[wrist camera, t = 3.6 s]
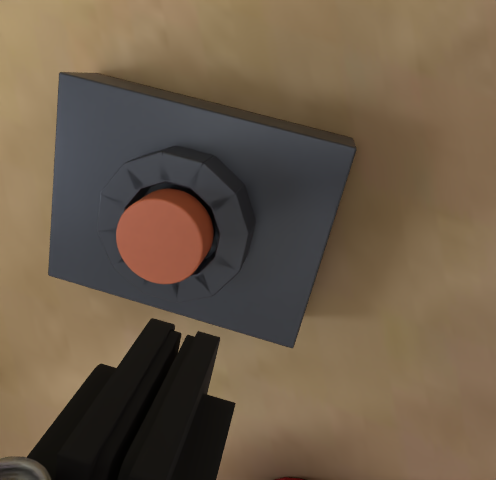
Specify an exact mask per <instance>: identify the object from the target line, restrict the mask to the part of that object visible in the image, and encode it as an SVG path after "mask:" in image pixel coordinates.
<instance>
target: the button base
mask: <svg viewBox="0 0 496 480" xmlns="http://www.w3.org/2000/svg"><path fill="white" fill-rule="evenodd" d="M355 153H356V146H355V143H354V140H353V138H351V137H347V136H343V135H339V134H335V133H331V132H327V131H323V130H319V129H315V128H311V127H307V126H303V125H299V124H295V123H291V122H287V121H284V120H280V119H276V118H272V117H268V116H264V115H260V114H256V113H252V112H248V111H244V110H240V109H236V108H232V107H228V106H224V105H220V104H216V103H212V102H209V101H205V100H201V99H197V98H193V97H189V96H185V95H181V94H177V93H173V92H169V91H165V90H161V89H157V88H153V87H149V86H145V85H141V84H137V83H134V82H130V81H126V80H122V79H118V78H114V77H110V76H106V75H102V74H98V73H71V72H60V73H59V87H58V105H57V124H56V142H55V160H54V179H53V197H52V215H51V234H50V252H49V270H48V275H49V276H52V277H56V278H59V279H62V280H66V281H69V282H72V283H76V284H79V285H82V286H86V287H89V288H92V289H96V290H99V291H103V292H106V293H109V294H113V295H116V296H119V297H123V298H126V299H129V300H133V301H136V302H139V303H143V304H146V305H149V306H153V307H156V308H159V309H163V310H166V311H169V312H173V313H176V314H179V315H183V316H186V317H189V318H193V319H196V320H199V321H203V322H206V323H209V324H213V325H216V326H219V327H223V328H226V329H229V330H233V331H236V332H239V333H243V334H246V335H249V336H253V337H256V338H259V339H263V340H266V341H269V342H273V343H276V344H280V345H283V346H286V347H290V348H293V347H294V345H295V341H296V338H297V335H298V332H299V329H300V326H301V323H302V319H303V316H304V313H305V310H306V307H307V304H308V301H309V297H310V294H311V291H312V288H313V285H314V282H315V279H316V275H317V272H318V269H319V266H320V263H321V260H322V257H323V253H324V250H325V247H326V244H327V241H328V238H329V235H330V231H331V228H332V225H333V222H334V219H335V216H336V213H337V209H338V206H339V203H340V200H341V197H342V194H343V191H344V187H345V184H346V181H347V178H348V175H349V172H350V169H351V165H352V162H353V159H354V156H355ZM167 188H169V189H177V190H181V191H184V192H186V193H188V194H190V195H192V196H193V197H195V198H196V199H197V200H198V201H200V203H201V204H202V205H203V206H204V207H205V209H206V210H207V212H208V213H209V215H210V218H211V220H212V224H213V230H214V237H213V243H212V246H211V248H210V251H209V252H208V254H207V255H206V257H205V258H204V260H203V261H202V262H201V264H200V265H199V267H198V268H197V269H196V271H195V272H194V273H193V274H192V275H191V276H189V277H188V278H186V279H185V280H183V281H180V282H177V283H173V284H158V283H153V282H150V281H147V280H145V279H143V278H141V277H140V276H138V275H137V274H136V273H134V272H133V271H132V270H131V269H130V268H129V267H128V266H127V264H126V263H125V262H124V260H123V259H122V257H121V255H120V253H119V250H118V247H117V242H116V230H117V225H118V222H119V219H120V217H121V215H122V214H123V213H124V211H125V210H126V209H127V208H128V207H129V206H131V205H132V204H133V203H135V202H136V201H138V200H140V199H141V198H143V197H145V196H146V195H148V194H149V193H151V192H153V191H156V190H160V189H167Z"/></svg>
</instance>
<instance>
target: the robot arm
mask: <svg viewBox="0 0 496 480" xmlns="http://www.w3.org/2000/svg"><path fill="white" fill-rule="evenodd" d="M174 329H175V325H174V324H171V323H167V322H164V321H160V320H157V319H153V318H152V319H151V320H150V321H149V322H148V324H147V325H146V326H145V328H144V329H143V331H142V332H141V334H140V335H139V337H138V338H137V339H136V341H135V342H134V344H133V345H132V347H131V348H130V350H129V351H128V353H127V354H126V355H125V357H124V358H123V360H122V361H121V363H120V364H119V366H118V367H117V368H114V367H111V366H108V365H104V364H100V365H98V366H97V367H96V368H95V369H94V370H93V371H92V373H91V374H90V375H89V377H88V378H87V379H86V381H85V382H84V383H83V384H82V386H81V387H80V388H79V390H78V391H77V392H76V394H75V395H74V396H73V398H72V399H71V400H70V401H69V403H68V404H67V405H66V407H65V408H64V409H63V411H62V412H61V413H60V415H59V416H58V417H57V418H56V420H55V421H54V422H53V424H52V425H51V426H50V428H49V429H48V430H47V431H46V433H45V434H44V435H43V437H42V438H41V439H40V441H39V442H38V443H37V445H36V446H35V447H34V448H33V450H32V451H31V452H30V454H29V455H28V456H27V458H26V457H5V458H1V459H0V480H216V478H217V474H218V470H219V466H220V462H221V458H222V454H223V450H224V446H225V443H226V439H227V435H228V431H229V427H230V423H231V419H232V415H233V411H234V407H235V403H234V402H230V401H227V400H223V399H220V398H217V397H213V396H210V395H207V392H208V388H209V384H210V380H211V375H212V371H213V367H214V363H215V359H216V355H217V350H218V346H219V342H220V337H217V336H213V335H210V334H206V333H203V332H199V331H198V332H197V334H196V336H195V337H194V336H190V335H187V336H186V338H185V340H184V342H183V344H182V346H181V348H180V350H179V352H178V349H179V344H180V339H181V333H180V332H176V331H174Z"/></svg>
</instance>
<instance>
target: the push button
mask: <svg viewBox="0 0 496 480" xmlns="http://www.w3.org/2000/svg"><path fill="white" fill-rule="evenodd" d="M213 237H214V230H213V224H212V220H211V218H210V215H209V213H208V212H207V210H206V209H205V207H204V206H203V205H202V204H201V203H200V201H198V200H197V199H196V198H195V197H193V196H192V195H190V194H188V193H186V192H184V191H181V190H177V189H169V188H167V189H160V190H156V191H153V192H151V193H149V194H148V195H146V196H145V197H143V198H141V199H140V200H138V201H136V202H135V203H133V204H132V205H131V206H129V207H128V208H127V209H126V210H125V211H124V213H123V214H122V215H121V217H120V219H119V222H118V225H117V230H116V242H117V247H118V250H119V253H120V255H121V257H122V259H123V260H124V262H125V263H126V264H127V266H128V267H129V268H130V269H131V270H132V271H133V272H134V273H136V274H137V275H138V276H140V277H141V278H143V279H145V280H147V281H150V282H153V283H158V284H173V283H177V282H180V281H183V280H185V279H186V278H188V277H189V276H191V275H192V274H193V273H194V272H195V271H196V269H197V268H198V267H199V265H200V264H201V262H202V261H203V260H204V258H205V257H206V255H207V254H208V252H209V251H210V248H211V246H212V243H213Z"/></svg>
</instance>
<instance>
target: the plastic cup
mask: <svg viewBox="0 0 496 480" xmlns="http://www.w3.org/2000/svg"><path fill="white" fill-rule="evenodd" d="M276 480H304V479H299V478H288V477H284V478H280V479H276Z"/></svg>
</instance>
